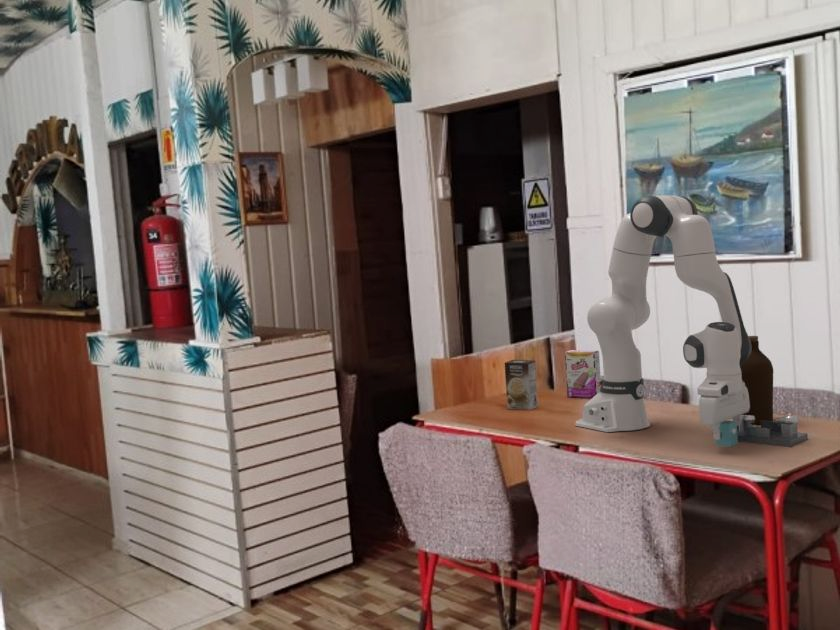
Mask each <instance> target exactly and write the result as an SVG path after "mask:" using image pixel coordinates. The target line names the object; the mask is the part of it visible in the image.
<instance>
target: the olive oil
mask: <svg viewBox="0 0 840 630" xmlns="http://www.w3.org/2000/svg"><path fill="white" fill-rule="evenodd" d="M748 336H749V339H750V341H751V345H752V351H751V354H750V356H749V358H748V359H747V360H746V362H745V363H744V364H742V365H740V369H741V374H742V380H743V382H744V383H745V386H746V387H747V389H748V394H749V402H750V409H749V412H747V413H744V414H742V415H751V416H754V417H755V422H754V423H751V426H761V420H766V421H774V367H773V363H772V361H771V360H770V358H769V357H768V356H767V355H765V353H763V352H762V351H761V349H760V346H759V344H760V342H759V336H758V335H748Z"/></svg>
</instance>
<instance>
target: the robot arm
mask: <svg viewBox="0 0 840 630" xmlns="http://www.w3.org/2000/svg"><path fill="white" fill-rule="evenodd" d="M664 236H665V237H667V238H668V239H669V240H670V241H671V244H672V251H673V252H672V253H673V263H674V269H675V273H676V276H677V278H678V279H679V281H680V282H682V284H684V285H686V286H688V287H689V288H692V289H694V290H698V291H700V292H704V293H707V294H708V295H710V296H711V297H712V298H713V299H714V300H715V302H716V304H717V309H718V311H719V315H720V319H721V321H715V322H710V323H707V325H706V326H705V328H704V330H702V331H699V332H697V333H694V334H690V335H689V336H688V337H687V338H686V340H684V343H683V346H682V347H683V348H682V353H683V357H684V360H685V362H686V363H687V364H688V365H689V367H692V368H694V369H706V378H705V379H704V380H703V382H702V383H701V384H700V385H698V387H697V395H698V396H699V399H698V411H699V412H698V413H699V420H700V423H701V424H702V425H704V426H709V428H710V430H711V432H712V438H713V439H714V440H715V441H716V440H719V439H721V438H722V432H720V429H719V427H720V423H721V422H724V421H730V420H731V419H732V418H733V419H732V421H736V422H737V432H739V431H740V423H741V420H742V414H744V413H747V412H749V409H750V402H749V394H748V389H747V387H746V386H745V383H744V382H743V380H742V374H741V369H740V365H742V364H744V363H745V362H746V360H747V359H748V358H749V356H750V354H751V351H752V345H751V341H750V339H749V336H750V335H748V332H747V330H746V327H745V324H744V321H743V317H742V314H741V309H740V306H739V302H738V299H737V298H738V297H737V296H736V292H735V288H734V285H733V283H732V279H731V278H730V275H729V274H728V273H727V272H725V271H723V269H722V268H721V266H720V263H719V262H718V258H717V254H716V246H715V241H714V236H713V232H712V228H711V226H710V222H709V221H708V220H707V218H706V217H704V216H702V215H699V212H698V208H697V206H696V204H695V203H694V201H693V200H691V199H690V198H688V197H686V196H683V195H675V194H674V195H673V194H661V195H646V196H643V197H641V198H639V199H638V200H636V201H635V202H634V203H633V205H632V206H631V208H630V212H629V213H627V214H625V215H624V216H623V217H622V218H621V221H620V222H619V225H618V229H617V230H616V234H615V238H614V241H613V246H612V250H611V257H610V261H609V266H608V276H609V278H610V280H611V294H610V297H606V298H602V299H600V300H599V301H597V302H596V303H594V304H592V305H591V306H590V308H589V310H588V311H587V317H586V320H587V325H588V327H589V328H590V330H591V331H592V332H593V333H594V334H595V336H596V339H597V341H598V344H599V347H600V350H601V356H602V368H603V370H602V371H603V379H602V380H601V382H598V383H599V384H598V383H597V384H598V385H597V386H601V387H600V392H599V393H598V394H596V395H595V396H594V397H593V398H590V400H588V401H586V403H585V404H584V405H583V409H582V418H580V419H577V420H576V421H575V427H576V426H577V427H581V428H585V429H590V430H594V431H595V430H596V431H600V432H605V433H612V432H613V433H614V432H629V431H638V430H643V429H646V428H649V427H650V426H651V423H650V420H649V416H648V413H647V410H646V404H645V383H644V378H643V374H642V373H643V371H642V354H641V352H640V349H638V348H637V346H636V344H635V342H634V338H633V334H632V331H634V330H637V329H639V328H640V327H641V326H643V325H644V324H645V323H646V322H648V320H649V318H650V315H651V307H650V303H649V302H648V300H647V277H648V272H649V269H650V268H649V266H650V264H651V263H650V262H651V257H652V252H653V248H654V247H653V246H654V242H655V240H656V238H657V237H658V238H662V237H664Z"/></svg>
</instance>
